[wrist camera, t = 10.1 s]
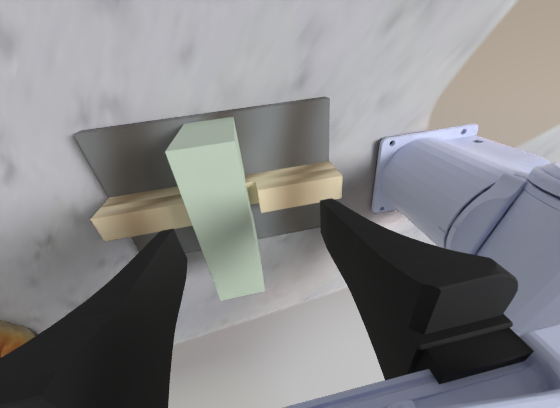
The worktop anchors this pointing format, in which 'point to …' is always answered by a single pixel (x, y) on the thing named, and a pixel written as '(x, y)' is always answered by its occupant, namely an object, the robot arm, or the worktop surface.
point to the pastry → (13, 337)
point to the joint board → (256, 162)
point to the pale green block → (218, 204)
